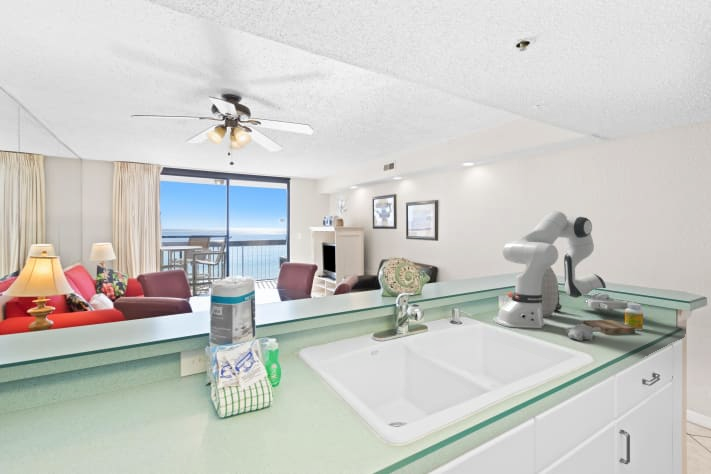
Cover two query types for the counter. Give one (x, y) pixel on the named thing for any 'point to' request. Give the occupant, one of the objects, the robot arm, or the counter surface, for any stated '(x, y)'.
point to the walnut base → (610, 326)
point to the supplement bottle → (634, 316)
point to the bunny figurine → (582, 332)
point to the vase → (549, 292)
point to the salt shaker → (558, 306)
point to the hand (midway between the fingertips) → (619, 308)
